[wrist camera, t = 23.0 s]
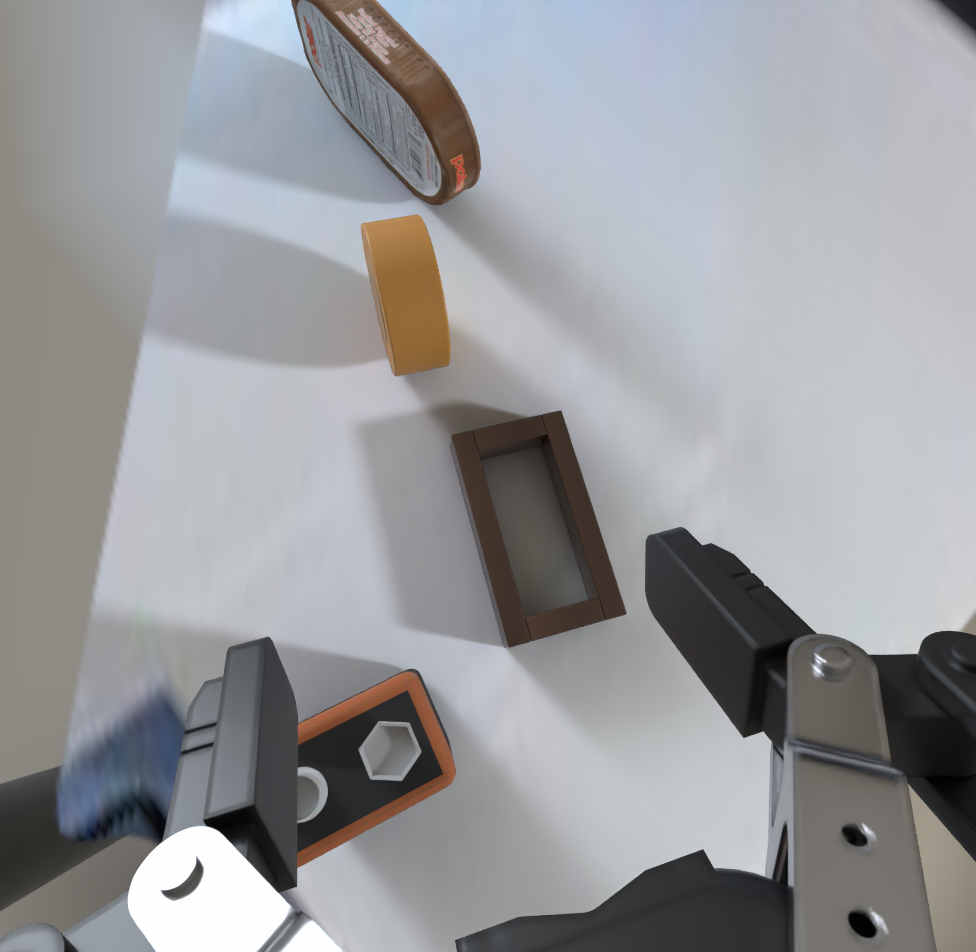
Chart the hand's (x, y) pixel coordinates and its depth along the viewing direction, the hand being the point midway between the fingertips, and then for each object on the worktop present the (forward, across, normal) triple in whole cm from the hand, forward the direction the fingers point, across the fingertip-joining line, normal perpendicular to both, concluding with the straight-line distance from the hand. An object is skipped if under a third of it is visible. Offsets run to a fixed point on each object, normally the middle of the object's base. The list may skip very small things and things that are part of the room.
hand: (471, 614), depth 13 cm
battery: (+12, +5, +17) cm, 22 cm away
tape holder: (+18, -6, +11) cm, 22 cm away
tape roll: (+26, -2, +3) cm, 26 cm away
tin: (+37, -4, -8) cm, 38 cm away
